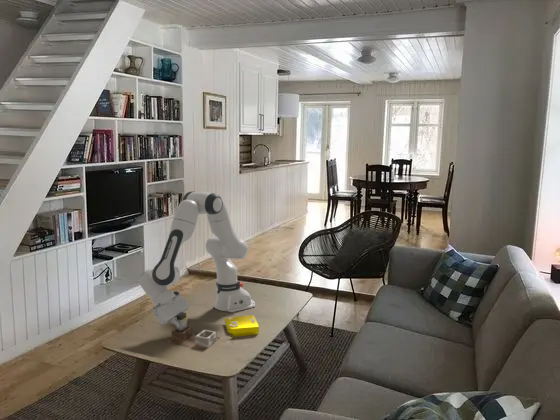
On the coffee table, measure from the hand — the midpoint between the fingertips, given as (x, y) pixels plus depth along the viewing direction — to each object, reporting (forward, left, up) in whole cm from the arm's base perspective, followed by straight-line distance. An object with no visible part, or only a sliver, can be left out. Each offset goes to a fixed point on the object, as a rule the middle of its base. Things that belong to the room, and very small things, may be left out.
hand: (182, 323), depth 216 cm
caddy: (-4, +4, -8) cm, 10 cm away
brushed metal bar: (0, 0, -6) cm, 6 cm away
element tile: (-29, -2, -9) cm, 30 cm away
